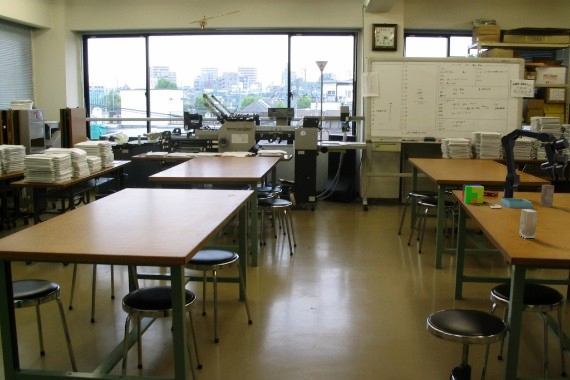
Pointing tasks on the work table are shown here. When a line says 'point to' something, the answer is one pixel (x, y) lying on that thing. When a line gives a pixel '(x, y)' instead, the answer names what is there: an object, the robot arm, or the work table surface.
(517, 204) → the dish
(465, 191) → the puzzle toy
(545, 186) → the block
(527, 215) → the skincare box
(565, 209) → the work table surface
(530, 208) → the mat
